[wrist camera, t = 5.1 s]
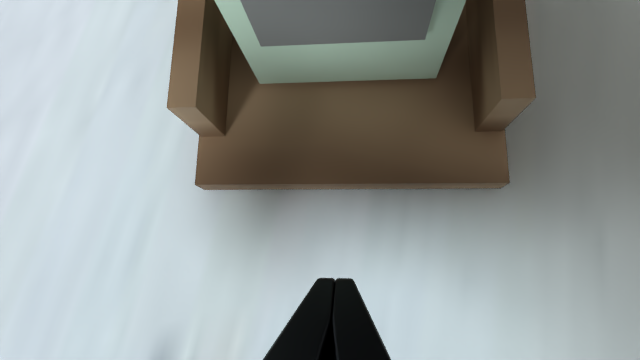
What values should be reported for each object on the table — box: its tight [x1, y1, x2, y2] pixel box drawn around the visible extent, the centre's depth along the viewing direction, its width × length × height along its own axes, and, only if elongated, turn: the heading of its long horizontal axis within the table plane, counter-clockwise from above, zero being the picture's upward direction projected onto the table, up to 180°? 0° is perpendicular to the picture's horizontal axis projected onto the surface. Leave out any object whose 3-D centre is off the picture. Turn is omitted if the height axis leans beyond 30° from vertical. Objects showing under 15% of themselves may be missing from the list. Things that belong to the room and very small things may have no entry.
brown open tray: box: [167, 0, 536, 190], centre depth 15 cm, size 12×12×5 cm
